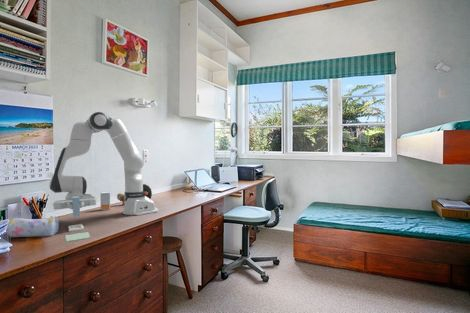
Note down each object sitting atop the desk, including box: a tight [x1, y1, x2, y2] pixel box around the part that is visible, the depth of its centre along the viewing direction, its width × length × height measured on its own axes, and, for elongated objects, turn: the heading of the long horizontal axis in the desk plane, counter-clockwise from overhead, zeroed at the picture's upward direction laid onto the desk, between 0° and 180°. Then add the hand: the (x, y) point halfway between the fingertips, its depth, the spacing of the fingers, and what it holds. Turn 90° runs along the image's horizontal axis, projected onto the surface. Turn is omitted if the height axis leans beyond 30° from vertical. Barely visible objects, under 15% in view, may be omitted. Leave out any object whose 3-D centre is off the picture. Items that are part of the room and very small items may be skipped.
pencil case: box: [6, 216, 61, 238], centre depth 139 cm, size 21×9×10 cm, turn 99°
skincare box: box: [100, 191, 111, 211], centre depth 196 cm, size 6×4×12 cm
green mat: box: [65, 231, 91, 243], centre depth 137 cm, size 10×10×1 cm
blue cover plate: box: [72, 196, 81, 218], centre depth 149 cm, size 3×4×10 cm, turn 32°
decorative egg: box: [143, 183, 153, 200], centre depth 215 cm, size 12×12×15 cm
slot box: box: [67, 223, 85, 233], centre depth 149 cm, size 7×8×2 cm
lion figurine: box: [116, 193, 125, 206], centre depth 212 cm, size 15×5×9 cm, turn 114°
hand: (76, 205), depth 148 cm, fingers closed on blue cover plate, 3 cm apart
